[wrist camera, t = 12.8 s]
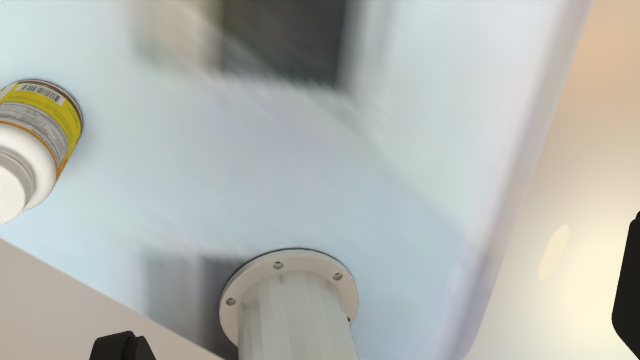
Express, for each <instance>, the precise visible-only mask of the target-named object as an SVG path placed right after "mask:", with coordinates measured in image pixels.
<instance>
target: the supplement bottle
mask: <svg viewBox="0 0 640 360" xmlns="http://www.w3.org/2000/svg"><path fill="white" fill-rule="evenodd" d="M82 126H83V123H82V116H81V113H80V110H79V108H78V106H77V104H76V103H75V102H74V100H73V99H72V98H71V97H70V96H69V95H68V94H67V93H66V92H65V91H63V90H62V89H60V88H59V87H57V86H55V85H53V84H50V83H47V82H44V81H39V80H22V81H18V82H14V83H12V84H10V85H8V86H6V87H5V88H4V89H2V90H1V91H0V224H2V223H6V222H8V221H11V220H12V219H14V218H15V217H17V216H18V215H19V214H20V213H21V212H23V211H27V210H29V209H32V208H34V207H36V206H38V205H39V204H40V203H42V202H43V201H44V200H45V199H46V198H47V197H48V195H49V194H50V192H51V191H52V189H53V187H54V185H55V183H56V182H57V180H58V178H59V176H60V174H61V172H62V170H63V169H64V167H65V165H66V163H67V161H68V159H69V157H70V155H71V153H72V151H73V149H74V148H75V146H76V144H77V142H78V140H79V138H80V135H81V132H82Z"/></svg>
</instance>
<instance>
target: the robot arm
mask: <svg viewBox="0 0 640 360" xmlns="http://www.w3.org/2000/svg"><path fill="white" fill-rule="evenodd" d="M357 309H358V292H357V289H356V285H355V283H354V280H353V278H352V276H351V274H350V273H349V272H348V270H347V269H346V268H345V267H344V266H343V265H342V264H341V263H339V262H338V261H337V260H335V259H333V258H331V257H329V256H327V255H325V254H322V253H319V252H315V251H310V250H301V249H296V250H283V251H277V252H272V253H269V254H266V255H264V256H261V257H258V258H256V259H255V260H253V261H251V262H249V263H247V264H246V265H244V266H243V267H242V268H241V269H239V270H238V271H237V272H236V273H235V274H234V275H233V276H232V277H231V278H230V280H229V281H228V282H227V284H226V286H225V288H224V289H223V292H222V295H221V298H220V306H219V316H220V323H221V326H222V329H223V331H224V333H225V334H226V336H227V337H228V339H229V340H230V341H231V342H232V343H233V344H235V345H236V346H237V347H238V360H359V359H358V355H357V351H356V348H355V344H354V341H353V337H352V334H351V330H350V325H351V324H352V322H353V320H354V318H355V316H356V313H357ZM612 324H613V327H614V329H615V331H616V333H617V334H618V336H619V337H620V338H621V339H622V340H623V342H624V343H625V344H626V345H627V346H628V347H629V349H630V350H631V351H632V352H633V353H634V354H635V355H636V357H637V358H638V359H639V360H640V211H639V212H638V213H637V216H636V218H635V219H634V220H633V221H632V222H631V223H630V226H629V231H628V236H627V241H626V246H625V251H624V256H623V262H622V266H621V271H620V276H619V281H618V286H617V292H616V297H615V302H614V307H613V312H612ZM89 360H156V358H155V357H154V354H153V352H152V350H151V348H150V346H149V344H148V342H147V340H146V339H145V337H143V336H140V337H135V335H134V334H133V332H131V331H125V332H121V333H117V334H112V335H108V336H104V337H100V338H97V340H96V341H95V342H94V345H93V348H92V352H91V355H90V359H89Z"/></svg>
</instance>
